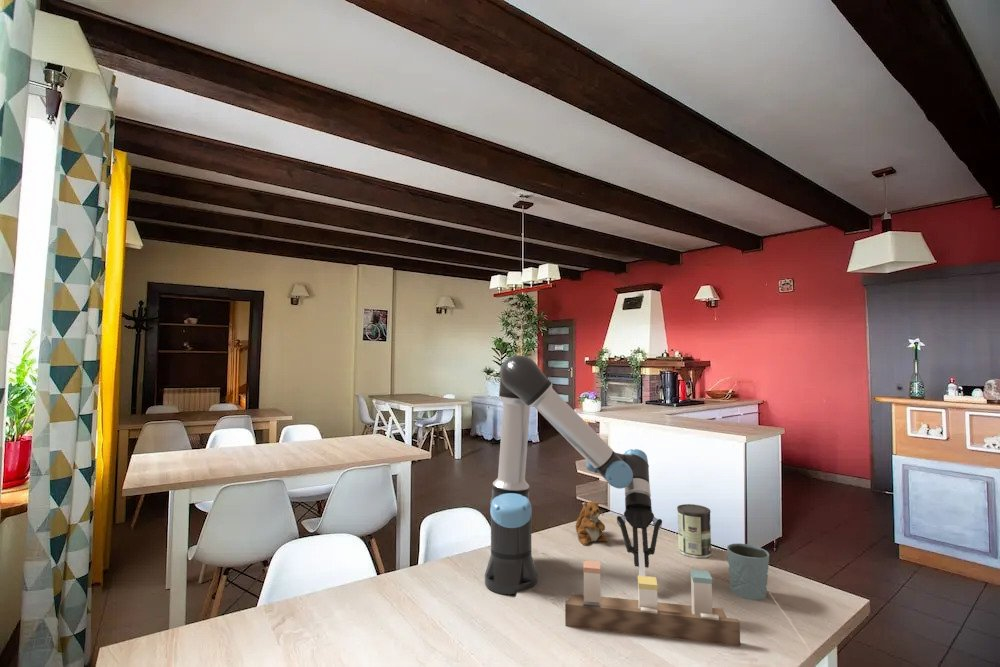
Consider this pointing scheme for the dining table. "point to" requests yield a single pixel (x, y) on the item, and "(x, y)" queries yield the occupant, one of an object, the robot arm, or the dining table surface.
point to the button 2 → (701, 592)
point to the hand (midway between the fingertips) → (642, 578)
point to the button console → (652, 620)
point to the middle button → (647, 592)
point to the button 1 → (591, 581)
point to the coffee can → (694, 530)
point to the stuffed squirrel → (590, 524)
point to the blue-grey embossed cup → (748, 570)
